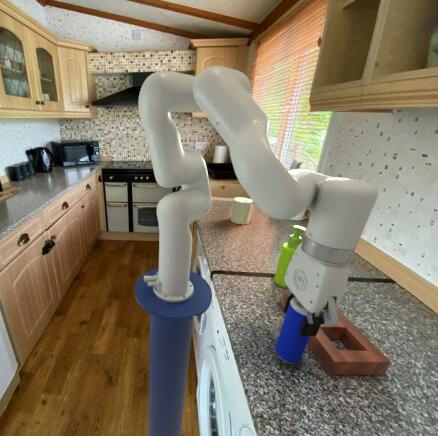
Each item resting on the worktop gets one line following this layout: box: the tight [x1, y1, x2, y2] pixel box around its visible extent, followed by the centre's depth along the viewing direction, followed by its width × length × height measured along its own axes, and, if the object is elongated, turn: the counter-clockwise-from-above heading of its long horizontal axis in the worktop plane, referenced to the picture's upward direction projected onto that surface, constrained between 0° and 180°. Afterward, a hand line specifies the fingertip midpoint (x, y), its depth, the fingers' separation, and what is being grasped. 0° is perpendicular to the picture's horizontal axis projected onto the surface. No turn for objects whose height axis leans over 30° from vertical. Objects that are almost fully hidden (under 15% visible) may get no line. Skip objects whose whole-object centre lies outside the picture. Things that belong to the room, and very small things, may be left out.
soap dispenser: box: [273, 224, 307, 289], centre depth 75 cm, size 6×7×20 cm
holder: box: [280, 293, 392, 376], centre depth 60 cm, size 12×20×4 cm, turn 0°
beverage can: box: [274, 297, 319, 365], centre depth 52 cm, size 5×5×15 cm
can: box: [230, 196, 254, 225], centre depth 124 cm, size 9×9×12 cm
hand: (298, 322), depth 51 cm, fingers closed on beverage can, 5 cm apart
